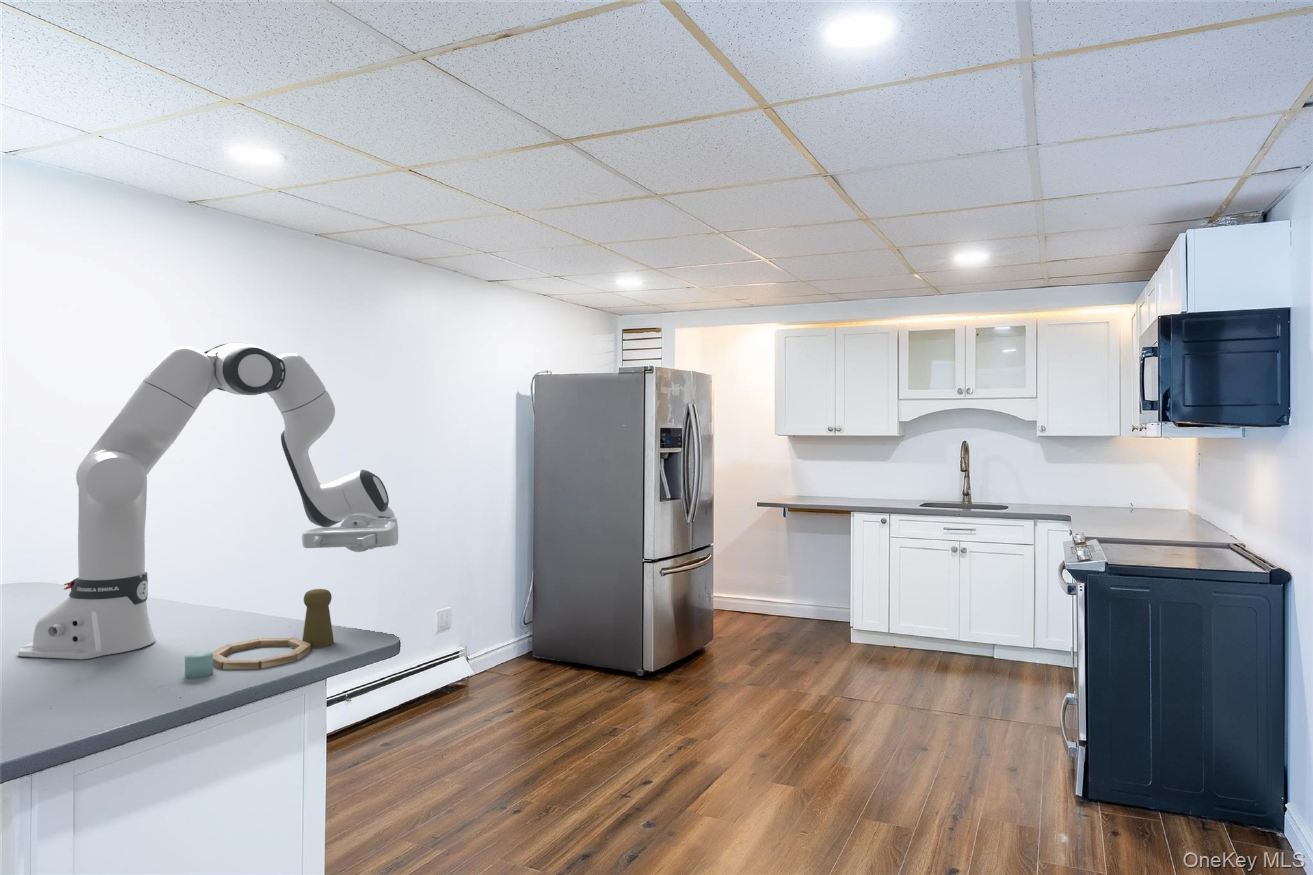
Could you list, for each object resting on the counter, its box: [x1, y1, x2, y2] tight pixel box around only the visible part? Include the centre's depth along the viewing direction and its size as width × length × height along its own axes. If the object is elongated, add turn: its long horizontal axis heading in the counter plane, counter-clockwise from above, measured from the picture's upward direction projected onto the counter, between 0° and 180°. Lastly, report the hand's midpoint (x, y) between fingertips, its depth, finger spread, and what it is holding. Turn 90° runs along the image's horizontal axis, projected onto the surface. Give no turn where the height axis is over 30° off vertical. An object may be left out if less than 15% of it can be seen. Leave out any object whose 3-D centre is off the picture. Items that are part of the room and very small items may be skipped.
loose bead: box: [184, 651, 214, 679], centre depth 145 cm, size 4×4×4 cm
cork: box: [301, 588, 335, 649], centre depth 165 cm, size 6×6×11 cm
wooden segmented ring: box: [211, 637, 312, 670], centre depth 156 cm, size 17×17×1 cm
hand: (338, 543), depth 176 cm, fingers open, 8 cm apart
